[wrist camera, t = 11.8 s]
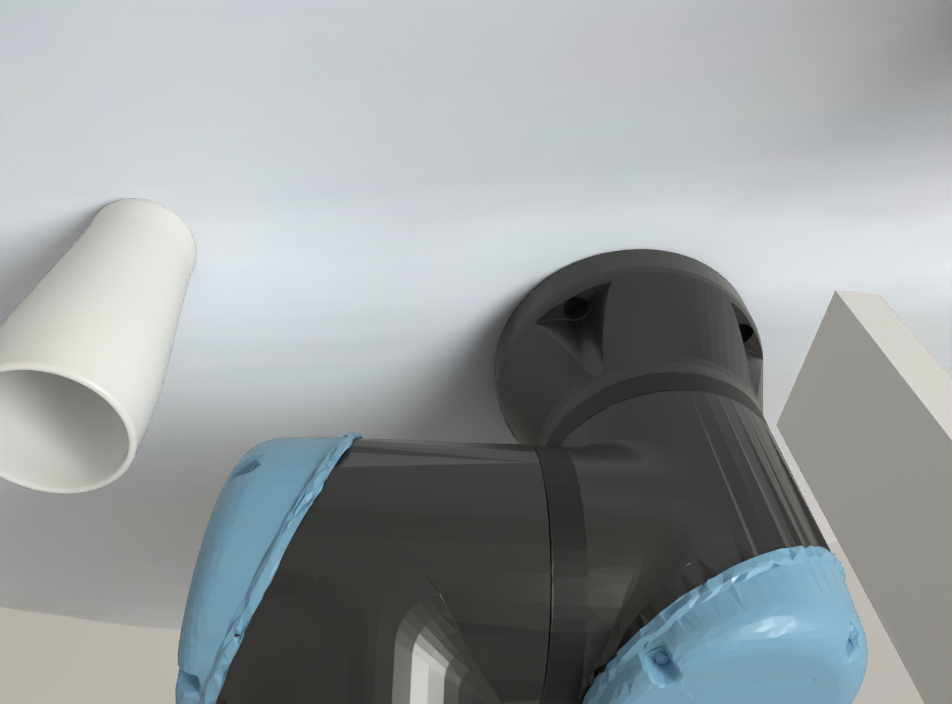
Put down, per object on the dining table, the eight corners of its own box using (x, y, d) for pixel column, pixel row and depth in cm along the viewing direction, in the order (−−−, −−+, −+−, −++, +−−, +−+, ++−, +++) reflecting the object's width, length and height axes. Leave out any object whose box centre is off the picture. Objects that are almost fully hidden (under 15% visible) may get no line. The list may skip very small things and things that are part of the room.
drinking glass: (172, 316, 47) (86, 521, 35) (54, 247, 45) (-82, 444, 33) (239, 232, 45) (171, 423, 33) (118, 153, 42) (-6, 330, 30)
